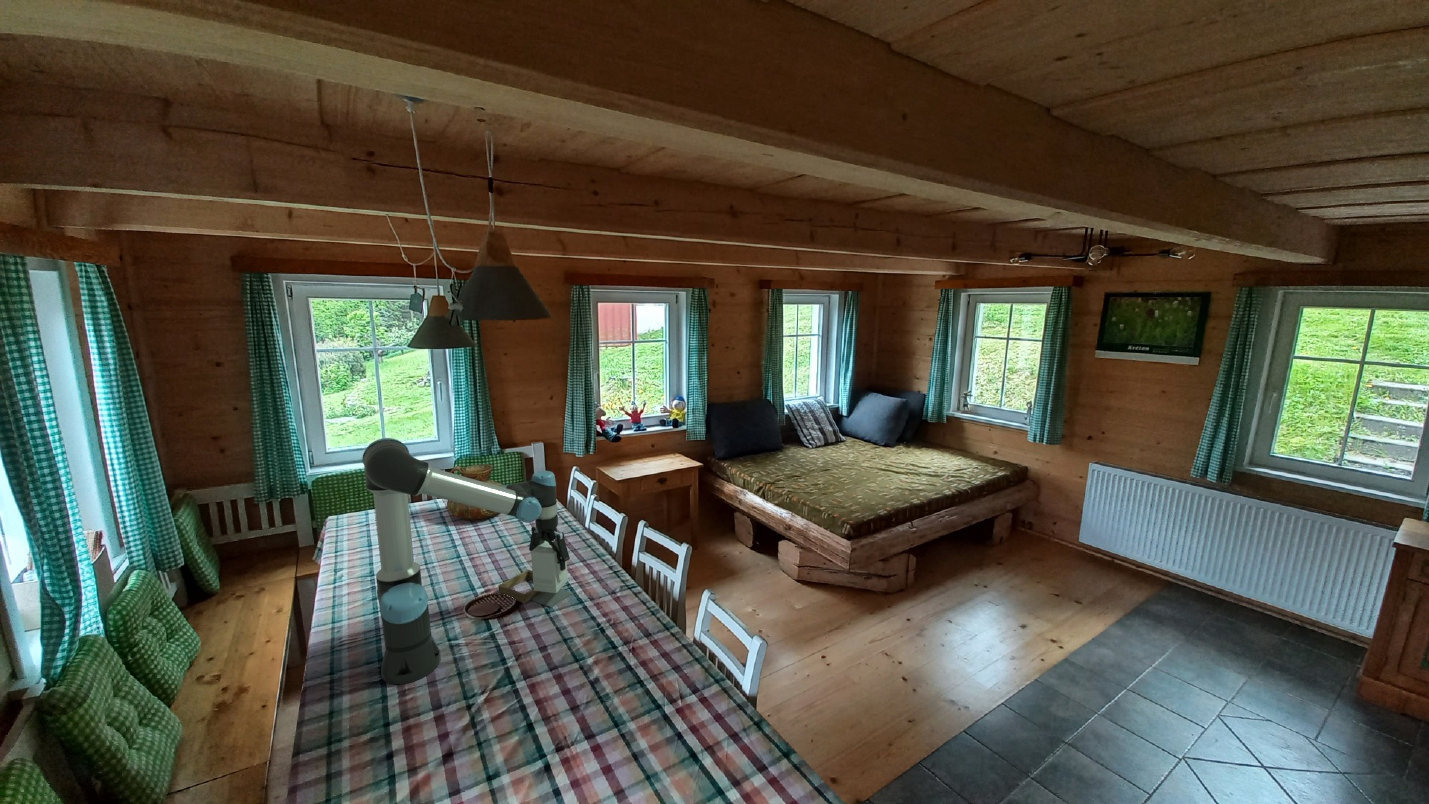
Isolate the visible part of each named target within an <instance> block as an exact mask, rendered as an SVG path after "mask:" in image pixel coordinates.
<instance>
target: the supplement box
mask: <svg viewBox="0 0 1429 804" xmlns="http://www.w3.org/2000/svg"><path fill="white" fill-rule="evenodd" d="M530 557H531V558H530V559H531V571H533V580H532V583H533V589H534V591H542V592H550V593H557V592H558V591H559V590H560V589H563V588H564V585H565V584H566V583H568V581H569V580H568V577H569V576H568V565H567V564H568V563H567V561H568V560H567V561H566V562H565V566H566V569H565V577H564V578H562V579H561V580H558V572H557V562H558V559H557V554H556V552H555V551H554V550H553V548H552V546H551V545H549V543H548V542H547V541H544V543H543V544H541V545H539V546H537V547H536V548H535V549H533V550H532V551H530Z"/></svg>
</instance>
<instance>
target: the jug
mask: <svg viewBox="0 0 1429 804" xmlns="http://www.w3.org/2000/svg"><path fill="white" fill-rule="evenodd" d="M493 470H494V466H493V465H491V464H488V463H485V464H483V463H482V464H473V465H468V466H464V467H462V466H458V465H456V466H454V467H453V468H452V469H451V470H450V472H449V473H453V474H455V472H456V471H457V472H458V473H459V474H460V476H463V477H467V478H470V479H474V480H478V481H481V482H485V483H488V484H492V485H495V486H499V487H501V486H505V484H502V482H497V481H496V480H495V481H494V480H491V479H490V476H491V474H492V471H493ZM446 507H447V509H448V511H449V512H450V513H451V515H452V516H455V517H457V518H459V519H462V520H465V521H471V522H472V521H475V522H476V521H484V520H488V519H490V518H493V517H495V516H496V515H498V514H499V513H498V512H494V511H490V510H486V509H482V508H478V507H474V506H470V505H466V504H462V503H458V502H454V501H449V500H446Z"/></svg>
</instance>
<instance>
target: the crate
mask: <svg viewBox="0 0 1429 804" xmlns="http://www.w3.org/2000/svg"><path fill="white" fill-rule="evenodd" d="M528 579H530V580H532V581H533V571H532V569H531V570H530V569H526V570H525V571H523V572H521V573H519V574H517V575H516V576H513V577H511V578H509V579H508V580H506V581H504V582H501V583H500V584H498V585H497V586H498V587H497V588H498V593H499V594H500V593H501V595H503V594H505V595H508V596H510V597H513V598H514V599H513V600H515V599H516V600H515V601H517V602H520V603H521V604H522V603H523V604H526V603H527V602H530V601H532V600H531V598H532V597H534V596H536V595H538V594H539V593H541V592H542V591H534V588H532V589H530V590H528V591H527V592H525V593H522V592H520V591H517V590H515V589H512V588H513V587H515V586H517V585H518V584H520V583H522V582H524V581H526V580H528ZM505 595H504V596H505ZM510 597H509V598H510Z"/></svg>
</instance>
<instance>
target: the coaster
mask: <svg viewBox="0 0 1429 804" xmlns="http://www.w3.org/2000/svg"><path fill="white" fill-rule="evenodd" d="M572 595H573V593H572V592H570V591H568V590H565V589H563V588H561V589H560V590H559V591H558V592H557V593H550V592H541V593H539V594H538V595H536V596H534V597H532V598H531V600H530V601H533V602H535V603H538V604H540V605H542V606H546V607H547V608H554V607H555V606H556V605H558V604H560V603H562V601H565V600H566V599H567V598H569V597H570V596H572Z"/></svg>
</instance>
